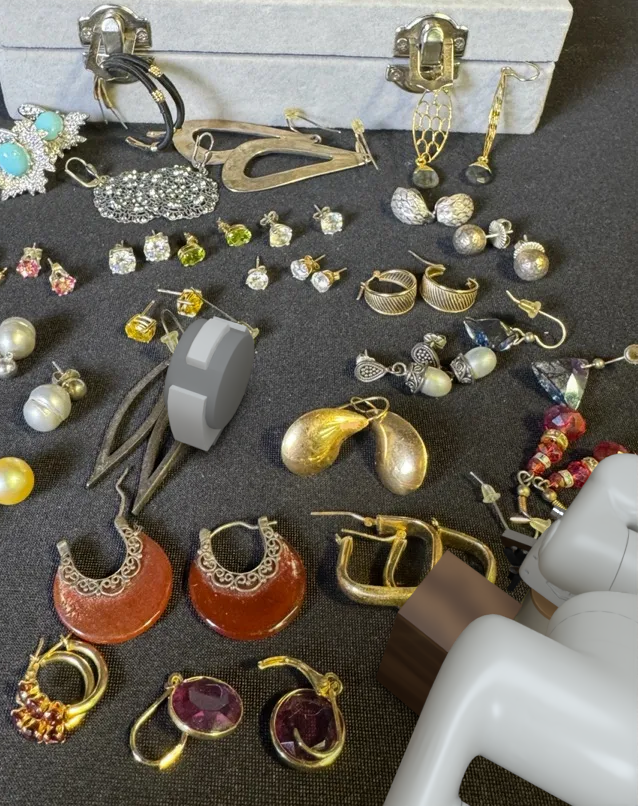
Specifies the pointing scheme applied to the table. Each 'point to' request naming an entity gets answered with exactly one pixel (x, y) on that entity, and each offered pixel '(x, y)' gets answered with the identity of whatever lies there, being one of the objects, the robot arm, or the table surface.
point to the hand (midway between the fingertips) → (550, 608)
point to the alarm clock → (207, 379)
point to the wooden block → (436, 626)
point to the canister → (535, 611)
